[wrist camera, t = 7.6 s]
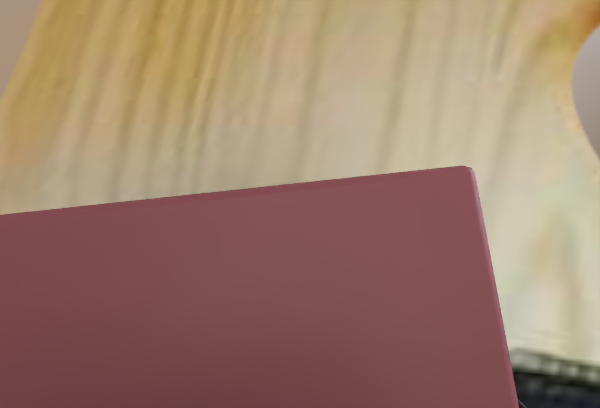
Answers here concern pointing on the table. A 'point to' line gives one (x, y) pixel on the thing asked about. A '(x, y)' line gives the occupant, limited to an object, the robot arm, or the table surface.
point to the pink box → (258, 299)
